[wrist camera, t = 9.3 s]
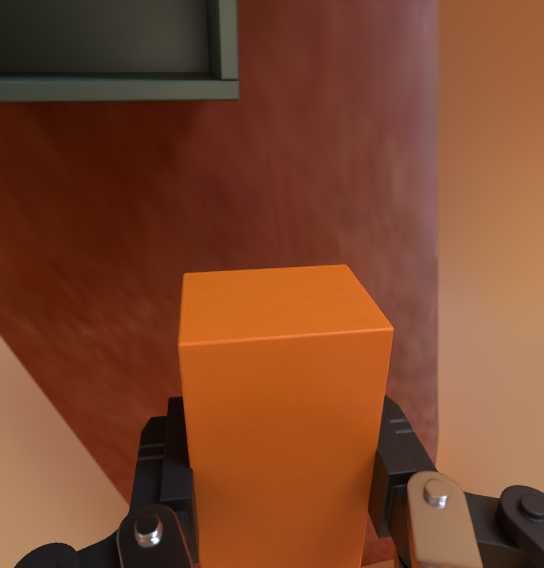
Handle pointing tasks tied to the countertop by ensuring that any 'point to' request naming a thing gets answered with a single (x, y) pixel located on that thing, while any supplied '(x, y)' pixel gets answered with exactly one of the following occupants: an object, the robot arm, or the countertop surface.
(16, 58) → the dark green open box
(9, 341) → the countertop surface
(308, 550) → the orange rectangular block
